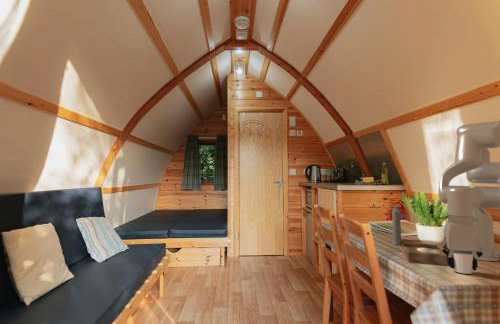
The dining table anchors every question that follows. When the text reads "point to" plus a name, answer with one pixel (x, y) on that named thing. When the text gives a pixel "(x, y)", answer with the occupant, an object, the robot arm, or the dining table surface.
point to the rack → (424, 253)
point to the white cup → (463, 261)
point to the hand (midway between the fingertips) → (462, 267)
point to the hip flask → (396, 225)
